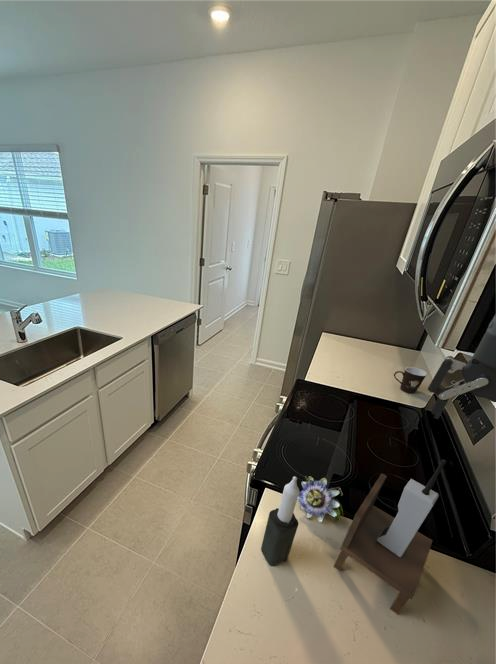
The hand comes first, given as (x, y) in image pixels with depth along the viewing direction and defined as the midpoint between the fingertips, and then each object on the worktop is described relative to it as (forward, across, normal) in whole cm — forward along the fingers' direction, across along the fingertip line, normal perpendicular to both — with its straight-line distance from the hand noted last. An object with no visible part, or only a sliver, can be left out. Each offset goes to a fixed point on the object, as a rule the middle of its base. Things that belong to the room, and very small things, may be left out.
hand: (466, 428), depth 50 cm
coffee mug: (+40, +21, -98) cm, 108 cm away
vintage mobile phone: (+32, +1, 0) cm, 32 cm away
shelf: (+40, +2, 0) cm, 40 cm away
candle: (+40, +20, +16) cm, 47 cm away
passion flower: (+40, +19, -4) cm, 44 cm away
